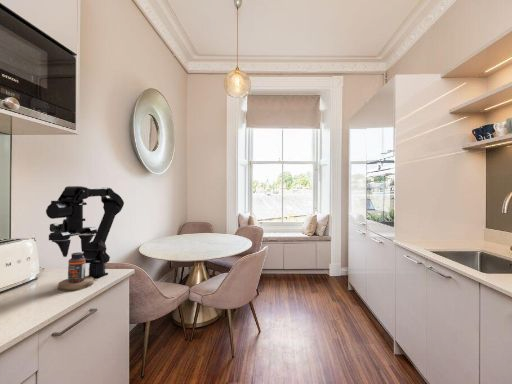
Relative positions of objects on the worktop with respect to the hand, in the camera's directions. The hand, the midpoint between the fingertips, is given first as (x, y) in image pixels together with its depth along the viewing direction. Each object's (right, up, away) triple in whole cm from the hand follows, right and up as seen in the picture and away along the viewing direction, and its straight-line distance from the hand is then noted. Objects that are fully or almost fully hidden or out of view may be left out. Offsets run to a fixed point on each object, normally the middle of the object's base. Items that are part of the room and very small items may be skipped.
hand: (74, 254), depth 109 cm
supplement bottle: (+1, -11, 0) cm, 11 cm away
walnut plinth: (+1, -13, 0) cm, 13 cm away
